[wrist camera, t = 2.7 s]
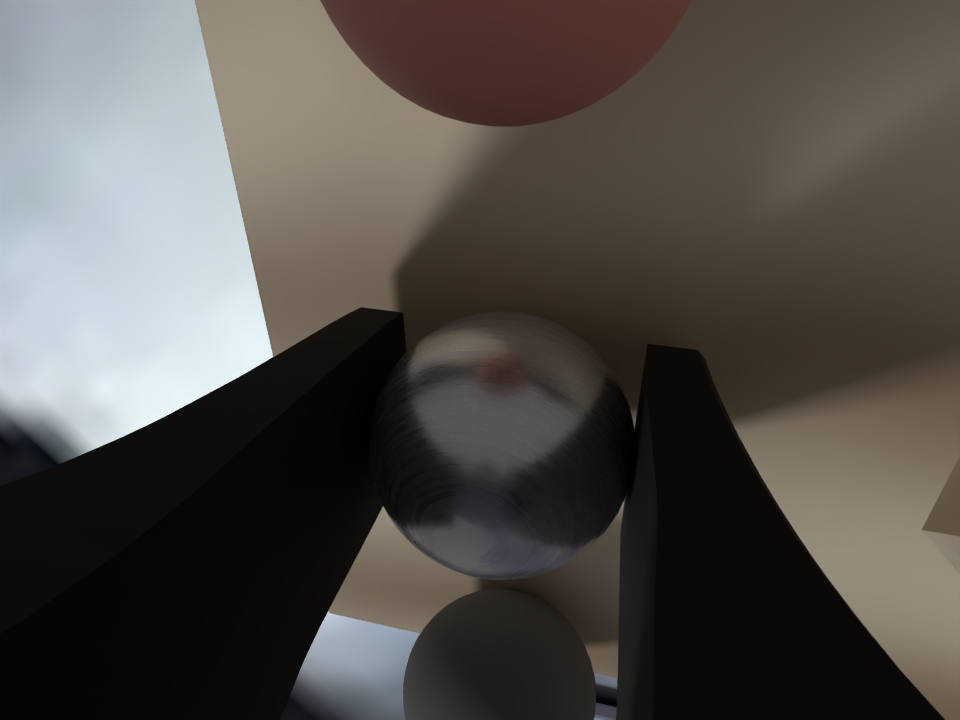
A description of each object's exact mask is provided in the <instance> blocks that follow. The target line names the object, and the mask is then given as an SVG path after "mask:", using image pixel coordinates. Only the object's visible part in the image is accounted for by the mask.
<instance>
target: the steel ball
mask: <svg viewBox="0 0 960 720" xmlns="http://www.w3.org/2000/svg"><path fill="white" fill-rule="evenodd" d="M634 448H635V430H634V423H633V418H632V414H631V410H630V407H629V403H628V400H627V398H626V396H625V394H624V391H623V389H622V387H621V385H620V383H619V380H618V379H617V377H616V376H615V374H614V372H613V371H612V369H611V368H610V367H609V365H608V364H607V363H606V362H605V361H604V359H603V358H602V357H601V356H600V355H599V354H598V352H597V351H596V350H595V349H594V348H592V347H591V346H590V345H589V344H588V343H587V342H586V341H585V340H583V339H582V338H580V337H579V336H578V335H576V334H575V333H573V332H572V331H570V330H568V329H566V328H564V327H563V326H561V325H559V324H556V323H554V322H551V321H549V320H547V319H543V318H540V317H537V316H533V315H528V314H523V313H517V312H487V313H481V314H475V315H471V316H466V317H463V318H460V319H457V320H454V321H452V322H449V323H447V324H445V325H443V326H441V327H439V328H437V329H436V330H434V331H432V332H431V333H429V334H428V335H426V336H425V337H423V338H422V339H420V340H419V341H418V342H417V343H416V344H415V345H414V346H413V347H412V348H410V349H409V350H408V351H407V352H406V353H405V354H404V355H403V356H402V358H401V359H400V360H399V362H398V363H397V364H396V366H395V367H394V368H393V370H392V371H391V372H390V374H389V375H388V377H387V379H386V381H385V383H384V385H383V387H382V389H381V391H380V393H379V395H378V398H377V401H376V404H375V407H374V411H373V415H372V419H371V425H370V434H369V458H370V466H371V472H372V477H373V481H374V484H375V487H376V490H377V493H378V495H379V498H380V501H381V503H382V505H383V506H384V508H385V510H386V512H387V514H388V515H389V517H390V519H391V520H392V522H393V523H394V525H395V526H396V528H397V529H398V530H399V531H400V532H401V534H402V535H403V536H404V537H405V538H406V539H407V540H408V541H409V542H410V543H411V544H412V545H413V546H414V547H415V548H417V549H418V550H419V551H420V552H421V553H423V554H424V555H425V556H427V557H428V558H430V559H431V560H433V561H435V562H436V563H438V564H440V565H442V566H444V567H446V568H448V569H450V570H453V571H455V572H458V573H461V574H464V575H467V576H472V577H476V578H481V579H488V580H515V579H523V578H529V577H534V576H538V575H541V574H544V573H546V572H549V571H552V570H555V569H557V568H559V567H561V566H563V565H565V564H567V563H569V562H570V561H572V560H573V559H575V558H577V557H578V556H579V555H581V554H582V553H584V552H585V551H586V550H588V549H589V548H590V547H591V546H592V545H593V544H594V543H595V542H596V541H597V540H598V539H599V538H600V537H601V536H602V535H603V534H604V533H605V531H606V530H607V528H608V527H609V526H610V524H611V523H612V521H613V520H614V518H615V517H616V515H617V514H618V512H619V510H620V508H621V506H622V504H623V502H624V499H625V497H626V495H627V492H628V490H629V486H630V482H631V478H632V471H633V462H634Z"/></svg>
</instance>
